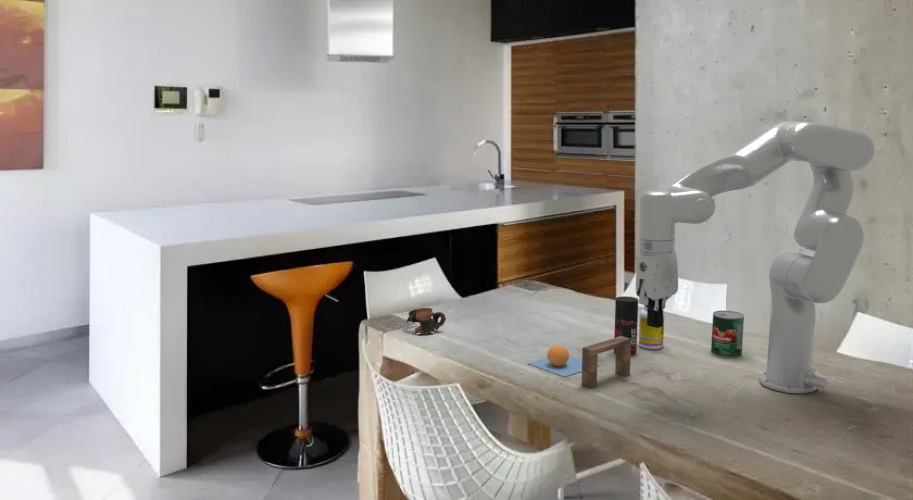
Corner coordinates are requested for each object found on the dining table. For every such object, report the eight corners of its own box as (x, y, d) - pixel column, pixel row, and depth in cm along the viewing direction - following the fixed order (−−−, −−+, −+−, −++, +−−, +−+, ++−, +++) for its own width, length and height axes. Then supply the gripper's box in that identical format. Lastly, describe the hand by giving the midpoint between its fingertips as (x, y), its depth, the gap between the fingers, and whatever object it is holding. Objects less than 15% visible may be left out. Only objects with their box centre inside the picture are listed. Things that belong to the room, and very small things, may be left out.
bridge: (629, 374, 182) (631, 338, 181) (591, 388, 173) (592, 350, 172) (620, 371, 185) (621, 336, 183) (581, 384, 176) (582, 347, 174)
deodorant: (620, 348, 203) (621, 295, 201) (640, 352, 199) (642, 298, 197) (609, 353, 199) (611, 299, 196) (630, 357, 195) (632, 302, 192)
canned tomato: (740, 350, 200) (742, 311, 198) (743, 359, 193) (745, 319, 191) (709, 348, 203) (711, 309, 201) (711, 357, 195) (713, 317, 193)
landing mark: (599, 365, 189) (599, 365, 189) (565, 377, 181) (565, 376, 181) (562, 353, 199) (562, 353, 199) (527, 364, 191) (527, 363, 191)
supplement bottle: (664, 350, 201) (665, 305, 198) (638, 349, 202) (640, 304, 200) (662, 343, 207) (664, 299, 205) (638, 342, 208) (639, 298, 206)
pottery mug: (406, 337, 216) (401, 311, 219) (415, 343, 225) (410, 317, 228) (445, 328, 214) (440, 301, 217) (452, 334, 223) (447, 308, 226)
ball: (554, 359, 193) (570, 368, 189) (541, 362, 189) (557, 371, 186) (559, 340, 192) (575, 348, 188) (545, 343, 188) (561, 352, 184)
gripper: (650, 253, 155) (648, 336, 159) (691, 244, 165) (688, 323, 168) (621, 248, 161) (620, 329, 165) (662, 240, 170) (660, 316, 174)
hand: (654, 326), depth 166 cm, fingers closed
